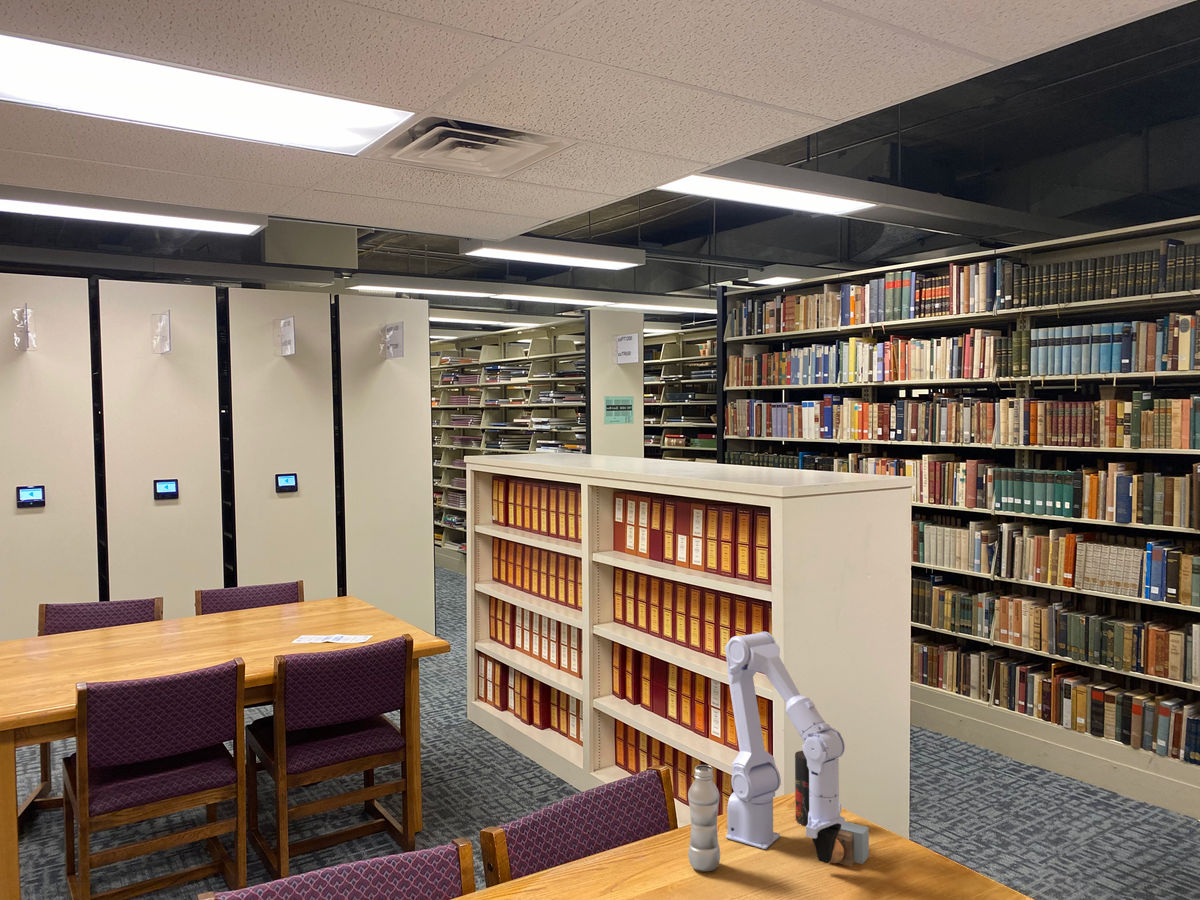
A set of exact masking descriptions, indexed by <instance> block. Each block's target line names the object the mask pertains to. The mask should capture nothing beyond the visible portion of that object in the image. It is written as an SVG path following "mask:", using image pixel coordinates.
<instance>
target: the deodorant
mask: <svg viewBox="0 0 1200 900" xmlns="http://www.w3.org/2000/svg"><path fill="white" fill-rule="evenodd" d="M794 773H795V774H794V781H795V783H794V786H795V787H794V788H795V789H794V791H795V793H794V798H795V803H794V804H795V806H794V807H795V813H794V814H795V822H796V821H797V822H796V824H798V823H799V824H798V825H800V824H801V826H803V825H804V827H806V826H807V824H808V812H809V769H808V766H807V759H806V757H805V755H804V753H803V750H798V751H796V752H795V753H794Z"/></svg>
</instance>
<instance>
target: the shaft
mask: <svg viewBox="0 0 1200 900" xmlns="http://www.w3.org/2000/svg"><path fill="white" fill-rule="evenodd" d="M845 853H846V850H845V840H842V839H839V838H837V837H836V840H835V844H834V848H833V853H832V858H831V861H830V862H829V863H831V864H839V863H838V862H840V861H841V860H842V859H843V857H844V856H845Z"/></svg>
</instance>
